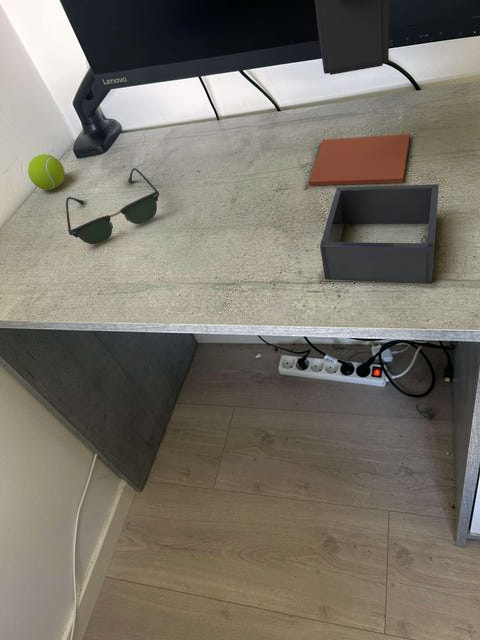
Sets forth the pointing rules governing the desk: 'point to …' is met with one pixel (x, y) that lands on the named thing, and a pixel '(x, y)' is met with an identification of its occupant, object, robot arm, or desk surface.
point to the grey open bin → (380, 257)
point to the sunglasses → (102, 226)
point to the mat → (361, 160)
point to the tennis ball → (46, 172)
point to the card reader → (353, 34)
